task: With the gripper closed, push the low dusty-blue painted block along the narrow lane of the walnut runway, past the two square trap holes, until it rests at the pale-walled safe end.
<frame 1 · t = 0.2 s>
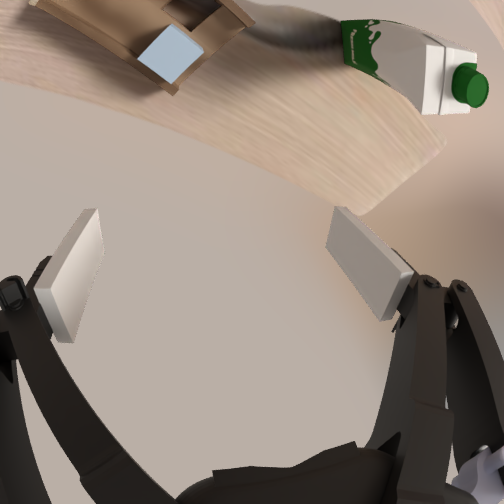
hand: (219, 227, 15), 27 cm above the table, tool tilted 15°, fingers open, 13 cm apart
milk carton: (362, 41, 30), on the table
blue block: (172, 49, 26), point 2 cm above the table, touching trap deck
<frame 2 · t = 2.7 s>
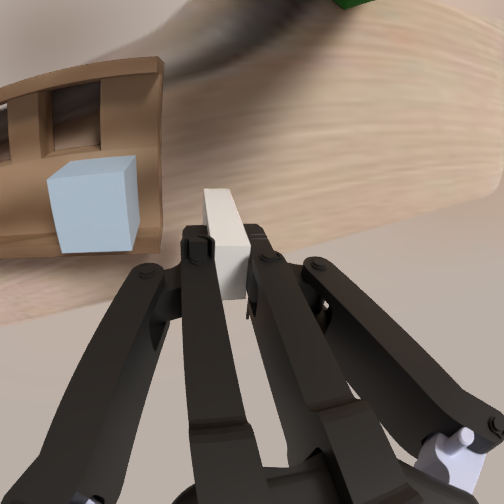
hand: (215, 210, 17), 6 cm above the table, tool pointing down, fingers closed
blue block: (104, 191, 18), point 2 cm above the table, touching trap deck
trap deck: (27, 161, 17), on the table
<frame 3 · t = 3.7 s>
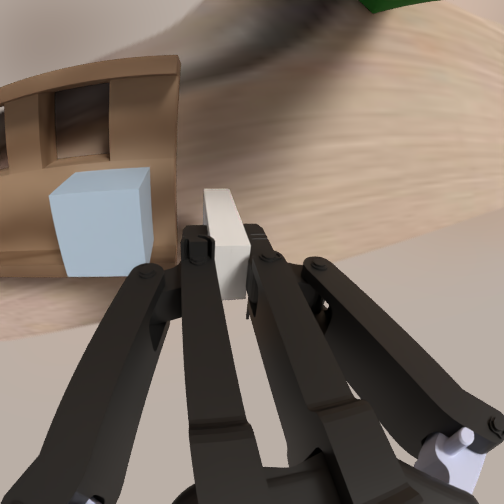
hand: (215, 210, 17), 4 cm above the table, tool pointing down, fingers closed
blue block: (114, 206, 16), point 2 cm above the table, touching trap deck
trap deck: (27, 170, 16), on the table
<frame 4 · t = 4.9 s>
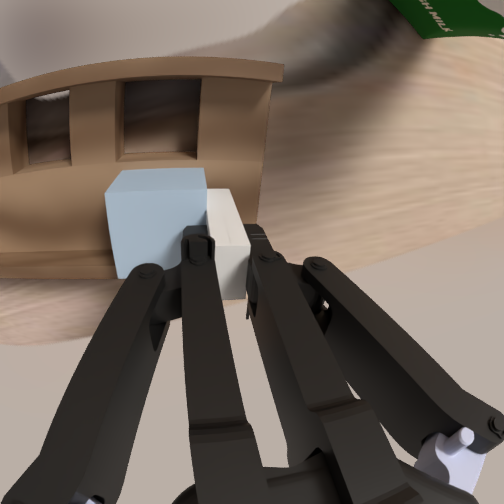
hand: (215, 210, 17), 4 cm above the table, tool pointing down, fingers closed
blue block: (163, 206, 17), point 3 cm above the table, touching gripper
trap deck: (85, 163, 17), on the table
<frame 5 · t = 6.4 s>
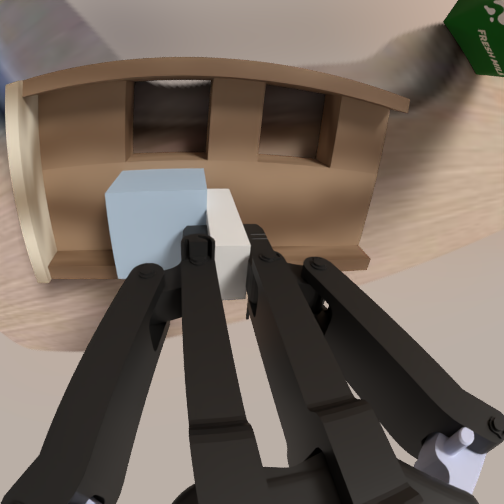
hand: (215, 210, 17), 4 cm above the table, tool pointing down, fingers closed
milk carton: (469, 32, 15), on the table
blue block: (163, 207, 17), point 2 cm above the table, touching gripper, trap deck
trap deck: (205, 159, 19), on the table
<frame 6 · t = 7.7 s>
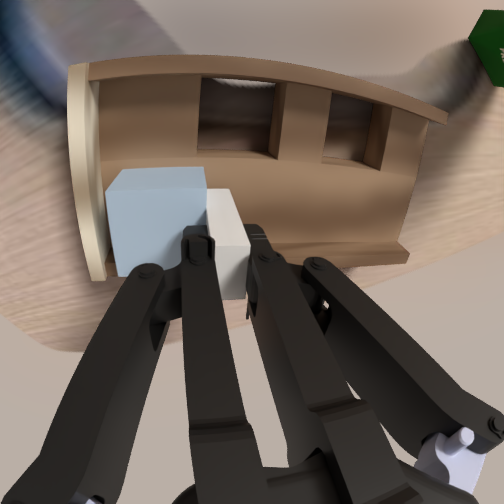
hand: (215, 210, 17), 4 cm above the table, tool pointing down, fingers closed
milk carton: (488, 46, 16), on the table
blue block: (163, 205, 17), point 3 cm above the table, touching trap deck
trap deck: (267, 158, 20), on the table
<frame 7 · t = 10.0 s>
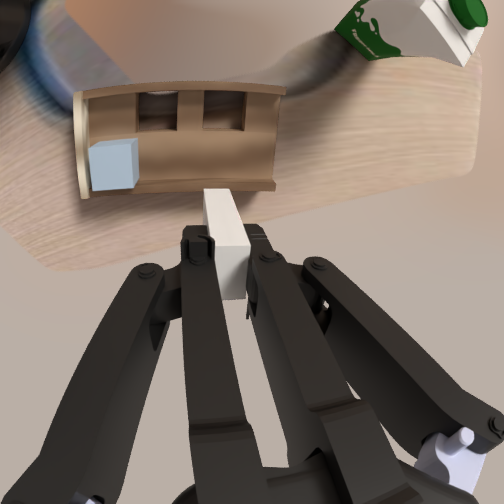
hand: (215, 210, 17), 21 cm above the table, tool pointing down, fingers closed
milk carton: (362, 30, 29), on the table
blue block: (119, 159, 31), point 2 cm above the table, touching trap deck
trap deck: (177, 132, 33), on the table
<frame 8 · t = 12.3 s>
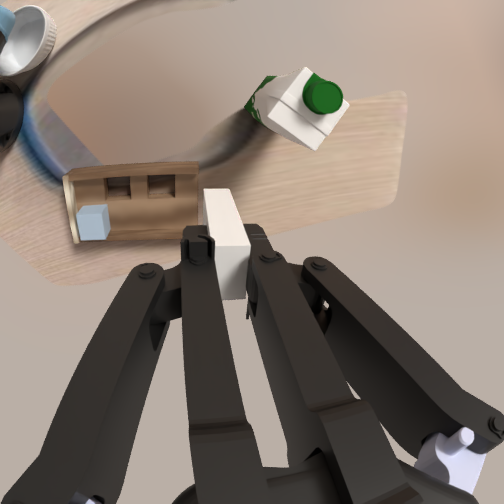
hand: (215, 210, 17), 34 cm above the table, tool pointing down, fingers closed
ramekin: (34, 43, 28), on the table
milk carton: (270, 102, 45), on the table
blue block: (96, 217, 47), point 2 cm above the table, touching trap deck
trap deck: (134, 197, 49), on the table
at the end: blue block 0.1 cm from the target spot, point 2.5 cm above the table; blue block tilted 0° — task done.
